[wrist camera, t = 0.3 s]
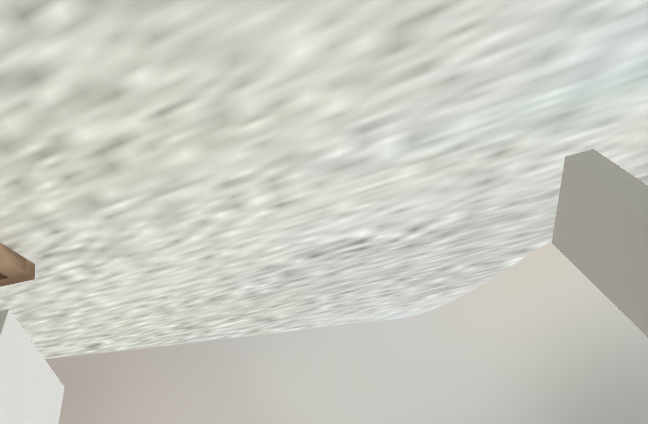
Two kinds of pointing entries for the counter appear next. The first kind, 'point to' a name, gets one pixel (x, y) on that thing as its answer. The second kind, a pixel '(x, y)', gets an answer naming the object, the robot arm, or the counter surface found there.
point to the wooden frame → (14, 267)
